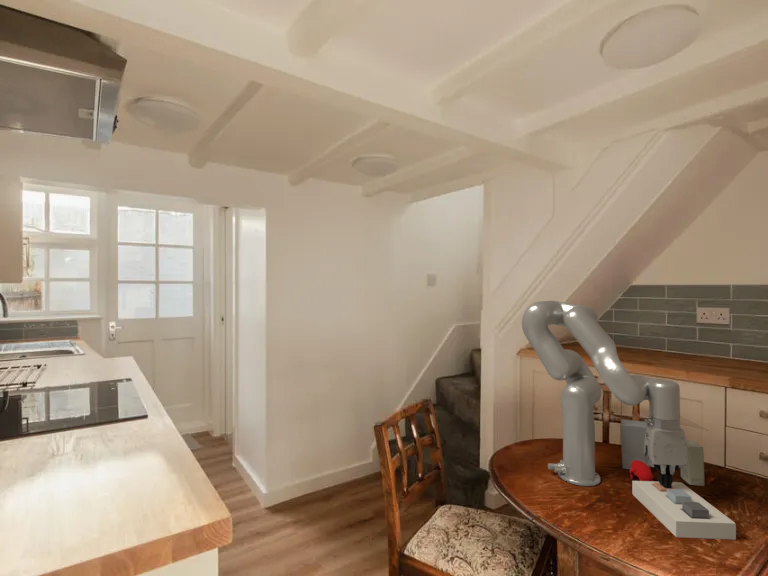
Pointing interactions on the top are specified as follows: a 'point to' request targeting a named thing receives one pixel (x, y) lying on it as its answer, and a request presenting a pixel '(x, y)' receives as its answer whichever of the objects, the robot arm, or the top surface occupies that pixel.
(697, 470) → the skincare box
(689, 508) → the charcoal button
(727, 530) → the button panel
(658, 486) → the terracotta button
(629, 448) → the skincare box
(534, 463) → the top surface
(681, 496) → the slate button
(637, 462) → the cap
